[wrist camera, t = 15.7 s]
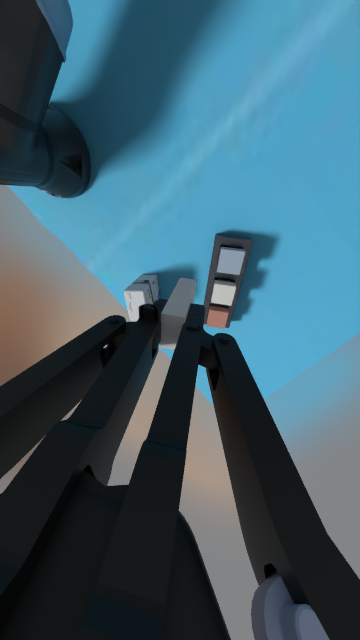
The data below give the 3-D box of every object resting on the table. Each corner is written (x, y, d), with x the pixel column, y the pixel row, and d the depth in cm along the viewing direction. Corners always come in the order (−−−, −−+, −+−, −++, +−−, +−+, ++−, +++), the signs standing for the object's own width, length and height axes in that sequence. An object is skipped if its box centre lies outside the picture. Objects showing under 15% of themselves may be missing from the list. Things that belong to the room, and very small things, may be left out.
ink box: (161, 301, 56) (148, 323, 46) (145, 301, 57) (130, 322, 47) (157, 274, 51) (142, 291, 42) (140, 274, 52) (122, 290, 43)
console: (228, 321, 55) (229, 328, 52) (201, 317, 56) (200, 323, 53) (250, 238, 43) (252, 240, 40) (215, 234, 44) (215, 236, 41)
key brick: (224, 317, 54) (224, 328, 49) (207, 315, 54) (206, 325, 50) (227, 303, 51) (228, 312, 46) (210, 300, 52) (209, 309, 47)
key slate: (237, 267, 44) (239, 275, 40) (217, 265, 45) (216, 272, 40) (242, 246, 42) (245, 251, 37) (221, 244, 42) (221, 248, 38)
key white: (230, 296, 48) (231, 305, 44) (211, 293, 49) (211, 302, 45) (234, 278, 46) (236, 286, 41) (215, 275, 46) (214, 283, 42)
